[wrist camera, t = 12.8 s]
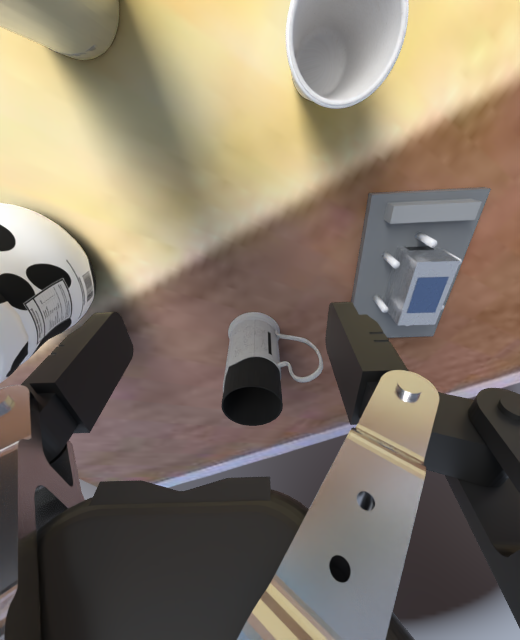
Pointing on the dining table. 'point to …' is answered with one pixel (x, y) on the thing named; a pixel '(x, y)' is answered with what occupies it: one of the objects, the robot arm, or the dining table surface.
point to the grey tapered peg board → (410, 243)
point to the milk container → (38, 284)
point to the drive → (419, 284)
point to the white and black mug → (256, 370)
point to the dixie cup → (343, 47)
